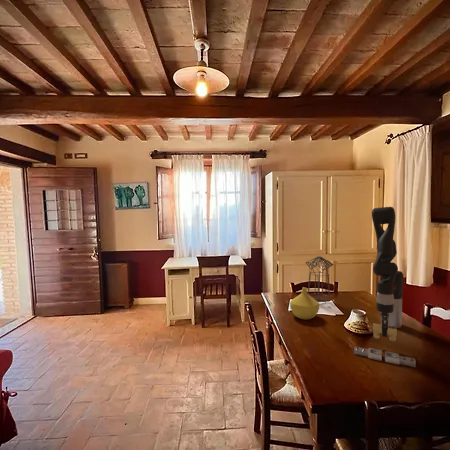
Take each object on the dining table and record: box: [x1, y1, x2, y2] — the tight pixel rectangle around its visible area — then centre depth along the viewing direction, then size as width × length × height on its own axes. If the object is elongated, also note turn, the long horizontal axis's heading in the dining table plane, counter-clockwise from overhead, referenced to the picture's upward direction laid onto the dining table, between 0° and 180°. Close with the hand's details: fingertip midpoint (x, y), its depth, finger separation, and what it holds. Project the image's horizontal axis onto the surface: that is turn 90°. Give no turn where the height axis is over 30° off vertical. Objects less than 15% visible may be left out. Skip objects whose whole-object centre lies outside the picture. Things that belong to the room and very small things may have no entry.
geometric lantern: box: [305, 255, 334, 306], centre depth 212 cm, size 16×16×35 cm
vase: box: [289, 286, 320, 320], centre depth 185 cm, size 18×18×19 cm
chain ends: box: [353, 346, 417, 368], centre depth 133 cm, size 6×25×3 cm, turn 61°
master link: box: [372, 323, 398, 342], centre depth 142 cm, size 3×10×6 cm, turn 62°
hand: (384, 334), depth 142 cm, fingers closed on master link, 3 cm apart
